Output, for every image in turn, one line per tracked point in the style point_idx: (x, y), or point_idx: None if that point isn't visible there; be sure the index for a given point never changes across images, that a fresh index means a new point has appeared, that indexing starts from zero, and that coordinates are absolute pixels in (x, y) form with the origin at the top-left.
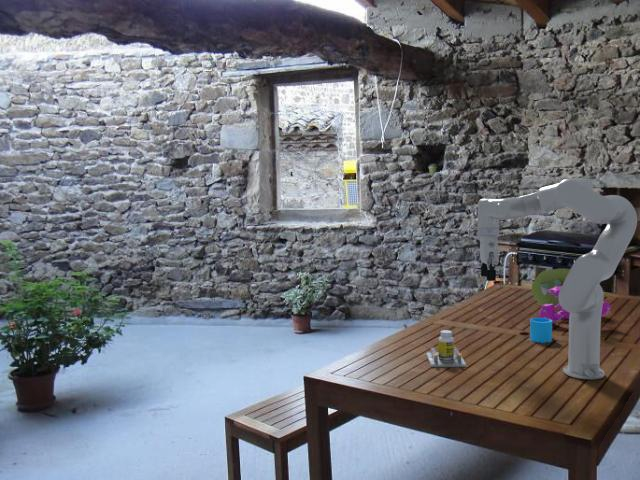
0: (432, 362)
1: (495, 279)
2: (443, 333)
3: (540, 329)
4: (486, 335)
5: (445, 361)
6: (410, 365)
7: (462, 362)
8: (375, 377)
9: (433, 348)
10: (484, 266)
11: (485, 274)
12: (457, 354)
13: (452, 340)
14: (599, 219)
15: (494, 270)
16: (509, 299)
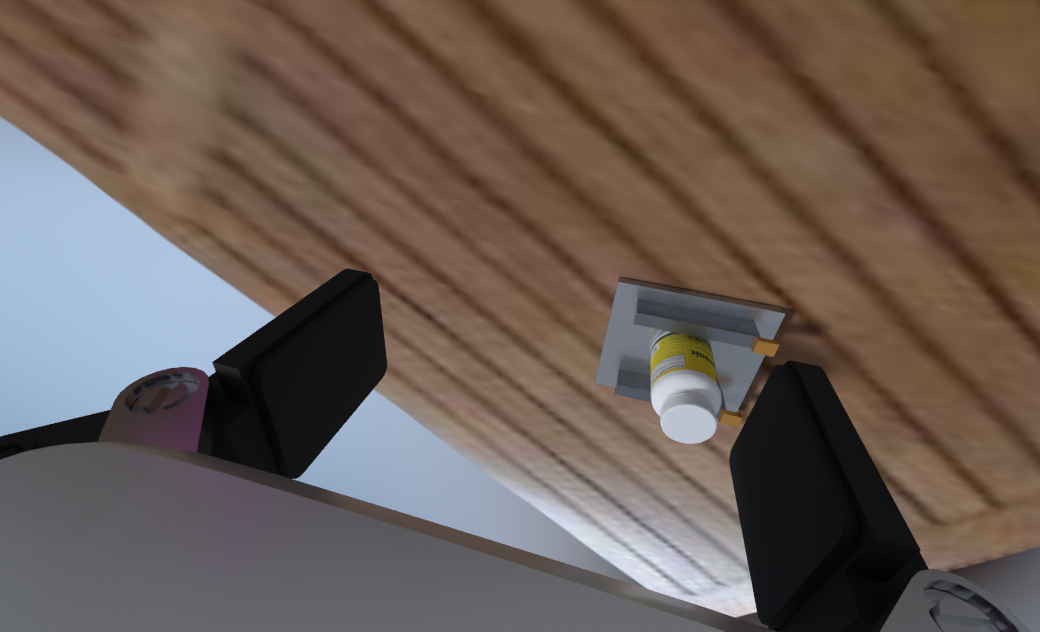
0: None
1: (820, 378)
2: (704, 438)
3: None
4: (329, 41)
5: (722, 367)
6: (692, 450)
7: (758, 318)
8: None
9: (629, 390)
10: (282, 445)
11: (371, 342)
12: (741, 345)
13: (716, 387)
14: None
15: (885, 554)
16: None
